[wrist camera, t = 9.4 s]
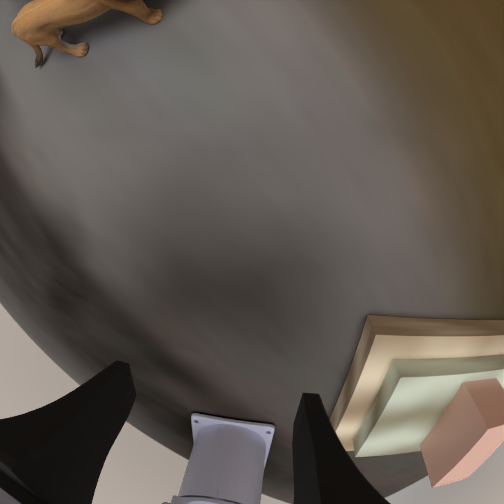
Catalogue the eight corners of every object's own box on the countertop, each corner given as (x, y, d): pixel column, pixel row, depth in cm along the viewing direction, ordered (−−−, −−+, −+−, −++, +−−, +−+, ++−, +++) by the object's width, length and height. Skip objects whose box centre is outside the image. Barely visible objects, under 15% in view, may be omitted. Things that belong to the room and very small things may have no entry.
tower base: (476, 417, 23) (489, 443, 19) (324, 431, 25) (326, 467, 21) (533, 319, 19) (556, 343, 14) (367, 314, 20) (383, 353, 16)
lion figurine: (196, -44, 12) (151, -116, 4) (214, 4, 14) (167, -73, 6) (38, 45, 15) (-40, 31, 7) (44, 94, 17) (-43, 92, 8)
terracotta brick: (452, 439, 19) (466, 478, 14) (419, 444, 19) (431, 487, 14) (496, 377, 16) (521, 418, 11) (463, 381, 16) (488, 429, 12)
